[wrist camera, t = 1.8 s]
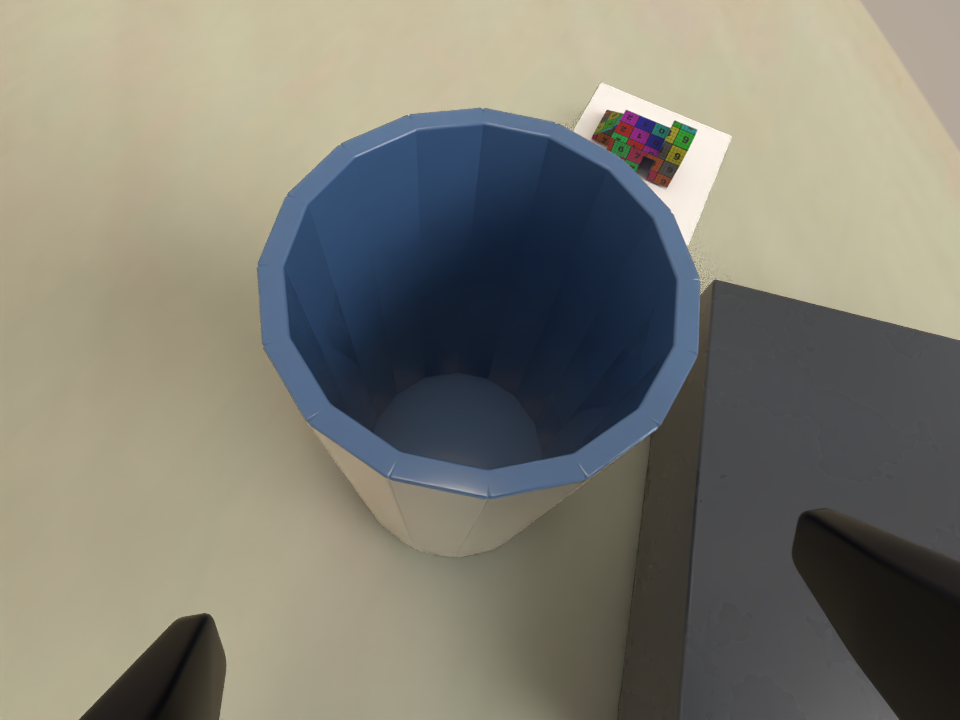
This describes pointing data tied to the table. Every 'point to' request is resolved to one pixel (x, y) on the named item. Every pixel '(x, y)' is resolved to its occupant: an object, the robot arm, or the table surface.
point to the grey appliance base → (781, 503)
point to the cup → (476, 318)
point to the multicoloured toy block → (658, 149)
